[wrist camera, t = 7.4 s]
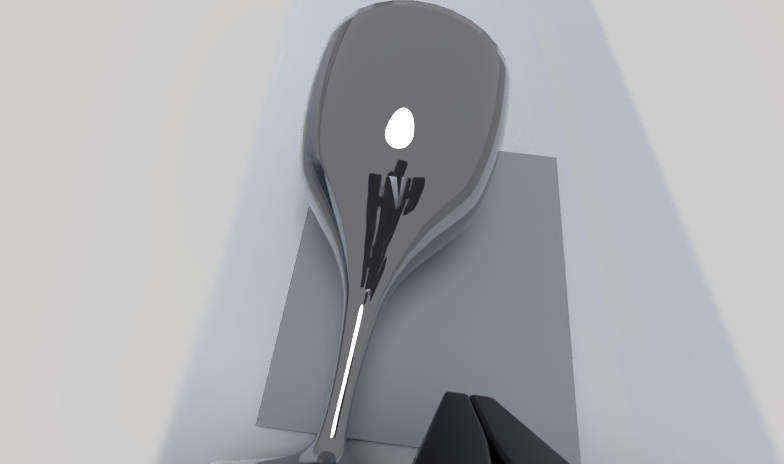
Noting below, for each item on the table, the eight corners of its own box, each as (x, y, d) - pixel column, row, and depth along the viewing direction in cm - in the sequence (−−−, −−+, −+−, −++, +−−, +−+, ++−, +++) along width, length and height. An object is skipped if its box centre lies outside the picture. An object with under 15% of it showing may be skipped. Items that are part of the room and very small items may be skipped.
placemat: (577, 468, 15) (580, 469, 14) (257, 425, 15) (255, 425, 15) (553, 161, 21) (556, 157, 20) (328, 135, 21) (327, 131, 21)
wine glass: (485, 601, 7) (536, 10, 13) (83, 491, 8) (300, -11, 14) (448, 500, 14) (490, 154, 20) (241, 449, 15) (339, 133, 21)
